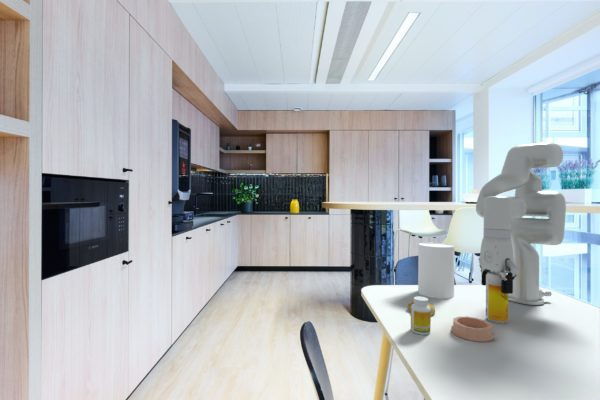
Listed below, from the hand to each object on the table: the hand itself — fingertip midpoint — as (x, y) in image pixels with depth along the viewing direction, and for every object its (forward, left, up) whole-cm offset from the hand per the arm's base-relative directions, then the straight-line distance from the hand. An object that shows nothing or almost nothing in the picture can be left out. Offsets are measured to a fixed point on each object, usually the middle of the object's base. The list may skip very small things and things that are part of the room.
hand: (496, 289), depth 100 cm
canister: (+5, -29, -10) cm, 32 cm away
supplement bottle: (+27, +8, -10) cm, 30 cm away
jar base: (+13, +10, -10) cm, 19 cm away
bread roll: (+20, -8, -11) cm, 25 cm away
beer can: (-1, 0, -10) cm, 10 cm away
